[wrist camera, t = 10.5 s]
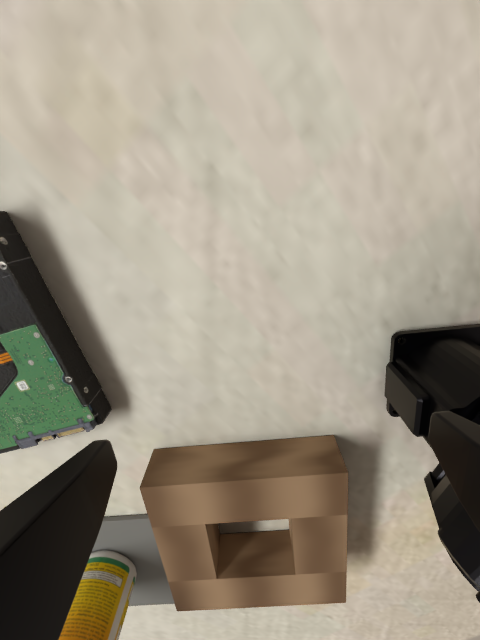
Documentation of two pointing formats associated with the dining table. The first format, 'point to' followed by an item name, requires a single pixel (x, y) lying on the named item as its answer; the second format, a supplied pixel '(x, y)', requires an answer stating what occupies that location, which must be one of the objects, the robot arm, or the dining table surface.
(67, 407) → the disk drive
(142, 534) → the rubber mat
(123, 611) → the supplement bottle
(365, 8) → the dining table surface
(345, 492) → the socket block
